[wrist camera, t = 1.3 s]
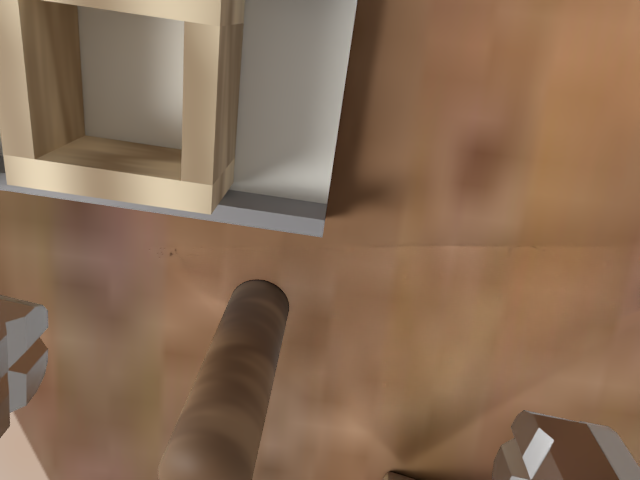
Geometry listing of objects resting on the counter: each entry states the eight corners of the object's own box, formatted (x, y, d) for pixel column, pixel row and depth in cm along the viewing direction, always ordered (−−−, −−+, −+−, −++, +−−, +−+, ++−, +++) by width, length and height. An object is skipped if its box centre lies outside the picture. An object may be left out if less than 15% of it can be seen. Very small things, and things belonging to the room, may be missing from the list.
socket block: (245, -10, 25) (221, -14, 21) (233, 182, 29) (211, 214, 25) (44, -40, 25) (-24, -50, 21) (60, 157, 29) (6, 184, 25)
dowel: (292, 284, 34) (253, 451, 21) (285, 334, 35) (247, 517, 23) (232, 275, 34) (157, 437, 21) (228, 325, 35) (157, 504, 23)
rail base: (362, -37, 26) (366, -55, 18) (324, 218, 32) (316, 280, 24) (-69, -100, 26) (-236, -143, 19) (-27, 166, 32) (-141, 213, 24)
